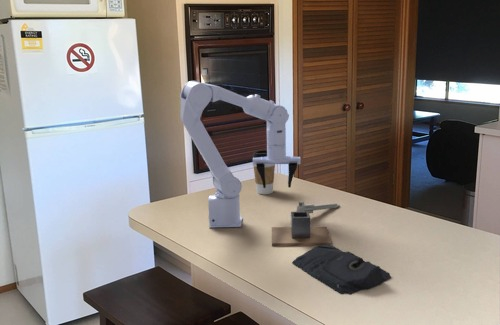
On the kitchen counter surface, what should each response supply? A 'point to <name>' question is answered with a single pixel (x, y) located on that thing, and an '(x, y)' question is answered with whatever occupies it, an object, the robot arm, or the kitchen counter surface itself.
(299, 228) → the steel collar
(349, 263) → the dark slate chunk
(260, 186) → the coffee cup
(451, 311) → the kitchen counter surface
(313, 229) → the post base
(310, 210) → the caliper
